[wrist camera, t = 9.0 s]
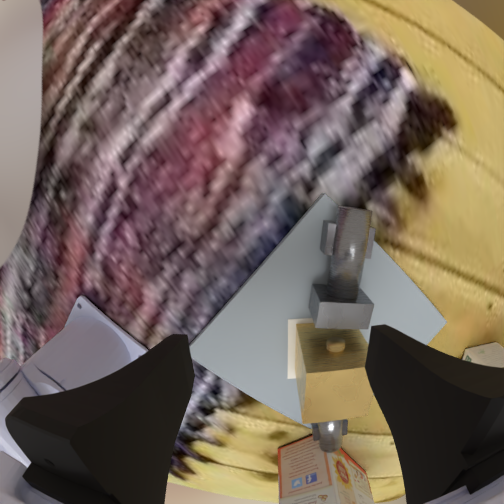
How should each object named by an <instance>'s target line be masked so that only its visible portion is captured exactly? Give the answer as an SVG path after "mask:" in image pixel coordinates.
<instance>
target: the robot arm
mask: <svg viewBox="0 0 504 504" xmlns="http://www.w3.org/2000/svg"><path fill="white" fill-rule="evenodd" d="M80 304H81V306H82V307H81V306H80ZM140 355H141V356H140ZM365 370H366V374H367V377H368V380H369V384H370V387H371V389H372V391H373V393H374V395H375V398H376V400H377V402H378V404H379V406H380V408H381V410H382V412H383V414H384V417H385V419H386V421H387V423H388V425H389V428H390V430H391V433H392V435H393V439H394V442H395V446H396V449H397V453H398V457H399V461H400V465H401V470H402V475H403V480H404V486H405V493H406V502H407V504H504V368H500V367H492V366H486V365H481V364H477V363H472V362H469V361H465V360H462V359H459V358H456V357H453V356H450V355H448V354H445V353H443V352H440V351H438V350H436V349H434V348H431V347H429V346H427V345H425V344H423V343H421V342H419V341H417V340H415V339H414V338H412V337H410V336H408V335H406V334H404V333H402V332H400V331H399V330H397V329H395V328H393V327H390V326H388V325H386V324H383V325H375V326H371V331H370V338H369V344H368V351H367V357H366V362H365ZM194 377H195V374H194V369H193V364H192V359H191V353H190V348H189V342H188V336H187V335H182V334H172V335H170V336H169V337H167V338H166V339H164V340H163V341H161V342H160V343H159V344H157V345H156V346H155V347H153V348H152V349H150V350H148V349H147V348H145V347H144V346H143V345H141V344H140V343H139V342H137V341H136V340H135V339H134V338H132V337H131V336H130V335H129V334H127V333H126V332H125V331H124V330H122V329H121V328H120V327H119V326H118V325H116V324H115V323H114V322H113V321H112V320H110V319H109V318H108V317H107V316H106V315H105V314H103V313H102V312H101V311H100V310H99V309H98V308H97V307H96V306H94V305H93V304H92V303H91V302H90V301H89V300H88V299H87V298H86V297H84V296H79V297H78V298H77V300H76V302H75V305H74V307H73V309H72V311H71V313H70V315H69V317H68V320H67V322H66V324H65V326H64V329H62V330H61V331H60V332H59V333H58V334H57V335H55V336H54V337H53V338H52V339H51V340H50V341H48V342H47V343H46V344H45V345H44V346H43V347H42V348H40V349H39V350H38V351H37V352H36V353H35V354H34V355H33V356H32V357H30V358H29V359H28V360H27V361H26V362H25V363H24V364H23V365H21V366H20V365H19V364H18V362H17V361H16V360H15V359H12V360H11V359H9V358H3V359H1V360H0V504H164V502H165V494H166V486H167V479H168V473H169V468H170V462H171V457H172V452H173V448H174V444H175V440H176V437H177V434H178V431H179V429H180V426H181V423H182V420H183V417H184V415H185V412H186V409H187V406H188V403H189V400H190V397H191V393H192V388H193V383H194Z"/></svg>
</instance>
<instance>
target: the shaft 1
mask: <svg viewBox="0 0 504 504" xmlns="http://www.w3.org/2000/svg"><path fill="white" fill-rule="evenodd" d="M371 216H372V211H370V210H366V209H361V208H354V207H347V206H338V209H337V217H336V221H330V220H323V226H322V234H321V242H320V250H321V251H322V252H323V254H324V255H331V262H330V268H329V275H328V281H327V285H326V284H312V286H311V292H310V299H309V305H308V308H309V311H310V314H311V317H312V319H313V322H314V325H315V328H326V329H368V328H369V324H370V320H371V316H372V312H373V308H374V303H373V302H372V301H371V300H370V298H369V297H368V296H367V295H366V294H365V293H364V291H363V290H362V289H361V288H360V284H361V278H362V273H363V268H364V262H365V258H366V259H371V255H372V249H373V243H374V236H375V230H376V229H375V228H373V227H371V226H370V224H371Z"/></svg>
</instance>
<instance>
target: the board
mask: <svg viewBox="0 0 504 504" xmlns="http://www.w3.org/2000/svg"><path fill="white" fill-rule="evenodd" d="M337 209H338V205H337V204H336V203H335V202H334V201H333V200H331V199H330V198H329V197H328V196H327V195H326V194H325V193H322V194H321V195H320V197H319V198H318V199H317V200H316V201H315V202H314V204H313V205H312V206H311V207H310V208H309V209H308V211H307V212H306V213H305V214H304V215H303V216H302V217H301V219H300V220H299V221H298V222H297V223H296V224H295V226H294V227H293V228H292V229H291V230H290V231H289V233H288V234H287V235H286V236H285V237H284V238H283V239H282V241H281V242H280V243H279V244H278V245H277V246H276V248H275V249H274V250H273V251H272V252H271V253H270V254H269V256H268V257H267V258H266V259H265V260H264V261H263V262H262V264H261V265H260V266H259V267H258V268H257V269H256V270H255V272H254V273H253V274H252V275H251V276H250V277H249V278H248V280H247V281H246V282H245V283H244V284H243V285H242V286H241V287H240V289H239V290H238V291H237V292H236V293H235V294H234V295H233V297H232V298H231V299H230V300H229V301H228V302H227V303H226V304H225V306H224V307H223V308H222V309H221V310H220V311H219V312H218V313H217V315H216V316H215V317H214V318H213V319H212V320H211V321H210V322H209V323H208V325H207V326H206V327H205V328H204V329H203V330H202V331H201V332H200V334H199V335H198V336H197V337H196V338H195V339H194V340H193V341H192V342H191V344H190V345H189V348H190V353H191V358H192V359H194V360H195V361H196V362H198V363H199V364H201V365H202V366H204V367H205V368H207V369H208V370H210V371H211V372H213V373H214V374H216V375H217V376H219V377H220V378H222V379H224V380H225V381H227V382H228V383H230V384H231V385H233V386H235V387H236V388H238V389H240V390H241V391H243V392H244V393H246V394H248V395H249V396H251V397H253V398H255V399H256V400H258V401H260V402H261V403H263V404H265V405H267V406H268V407H270V408H272V409H274V410H276V411H278V412H279V413H281V414H283V415H285V416H287V417H289V418H291V419H292V420H294V421H296V422H298V423H300V424H302V425H304V426H306V427H308V428H310V429H312V428H311V423H308V424H303V423H302V416H301V409H300V402H299V395H298V389H297V382H296V375H295V346H296V324H303V323H314V322H313V319H312V317H311V314H310V311H309V308H308V305H309V299H310V292H311V286H312V284H326V285H327V281H328V275H329V268H330V262H331V255H324V254H323V252H322V251H321V250H320V242H321V234H322V226H323V220H330V221H336V217H337ZM360 288H361V289H362V290H363V291H364V293H365V294H366V295H367V296H368V297H369V298H370V300H371V301H372V302H373V303H374V308H373V312H372V316H371V320H370V324H369V328H368V329H359V330H360V331H361V333H362V335H363V336H364V338H365V340H366V342H367V343H368V344H369V338H370V331H371V326H375V325H383V324H386V325H388V326H390V327H393V328H395V329H397V330H399V331H400V332H402V333H404V334H406V335H408V336H410V337H412V338H414V339H415V340H417V341H419V342H421V343H423V344H425V345H427V344H428V343H429V342H430V341H431V340H432V339H433V337H434V336H435V335H436V334H437V333H438V332H439V331H440V330H441V329H442V327H443V326H444V325H445V324H446V323H447V321H446V320H445V319H444V318H443V316H442V315H441V314H440V313H439V312H438V310H437V309H436V308H435V307H434V306H433V304H432V303H431V302H430V301H429V300H428V298H427V297H426V296H425V295H424V294H423V293H422V292H421V290H420V289H419V288H418V287H417V286H416V285H415V284H414V282H413V281H412V280H411V279H410V278H409V277H408V276H407V275H406V274H405V273H404V271H403V270H402V269H401V268H400V267H399V266H398V265H397V264H396V263H395V262H394V261H393V260H392V259H391V258H390V256H389V255H388V254H387V253H386V252H385V251H384V250H383V249H382V248H381V247H380V246H379V245H378V244H377V243H376V242H375V241H374V243H373V249H372V255H371V259H366V258H365V262H364V268H363V273H362V278H361V284H360ZM373 395H374V393H373Z"/></svg>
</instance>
